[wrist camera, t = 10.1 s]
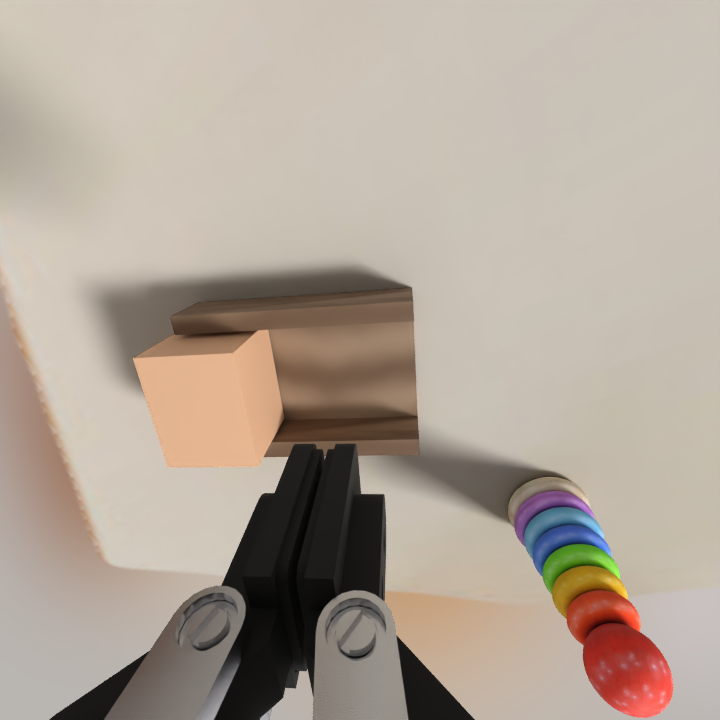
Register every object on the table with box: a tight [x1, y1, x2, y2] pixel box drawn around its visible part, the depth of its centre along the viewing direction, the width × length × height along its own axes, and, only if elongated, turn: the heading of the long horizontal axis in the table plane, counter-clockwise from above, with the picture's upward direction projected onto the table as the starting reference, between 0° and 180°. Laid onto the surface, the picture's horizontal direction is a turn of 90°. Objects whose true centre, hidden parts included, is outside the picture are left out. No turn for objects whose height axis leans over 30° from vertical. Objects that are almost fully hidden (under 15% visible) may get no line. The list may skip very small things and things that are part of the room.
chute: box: [170, 288, 420, 457], centre depth 37 cm, size 14×20×5 cm
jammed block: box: [133, 330, 284, 467], centre depth 35 cm, size 10×8×8 cm
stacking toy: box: [508, 477, 673, 718], centre depth 34 cm, size 8×8×19 cm
